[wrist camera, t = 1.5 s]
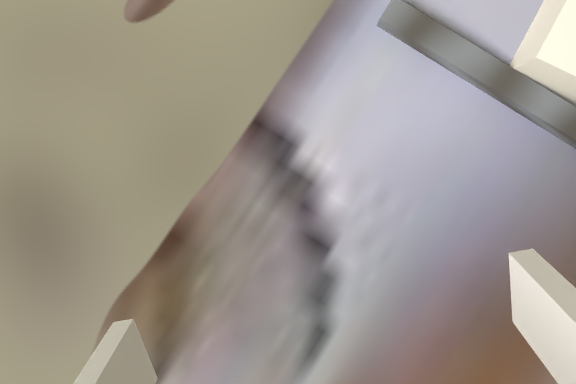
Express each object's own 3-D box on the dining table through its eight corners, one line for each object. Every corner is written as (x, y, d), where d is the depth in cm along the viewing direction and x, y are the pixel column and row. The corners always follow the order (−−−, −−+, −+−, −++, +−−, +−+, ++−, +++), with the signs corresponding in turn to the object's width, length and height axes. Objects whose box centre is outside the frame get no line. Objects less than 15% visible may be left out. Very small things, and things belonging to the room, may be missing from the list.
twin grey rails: (717, 39, 32) (736, 33, 31) (620, 176, 33) (635, 176, 32) (463, -113, 33) (470, -126, 31) (376, 25, 34) (379, 18, 32)
